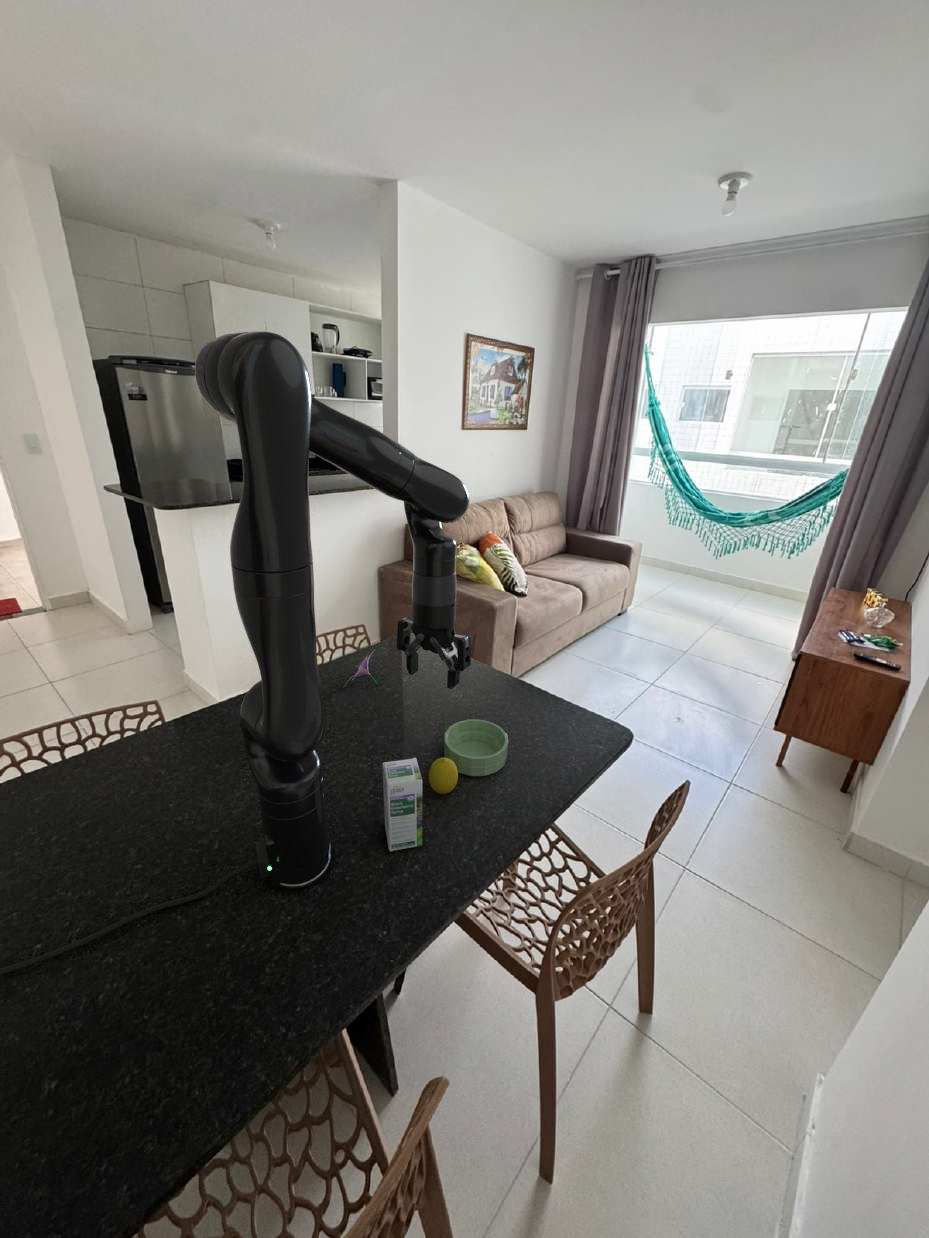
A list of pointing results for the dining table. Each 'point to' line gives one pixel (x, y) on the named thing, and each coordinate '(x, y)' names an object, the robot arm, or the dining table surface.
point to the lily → (363, 669)
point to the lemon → (443, 775)
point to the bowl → (476, 747)
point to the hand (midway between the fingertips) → (432, 679)
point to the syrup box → (402, 803)
